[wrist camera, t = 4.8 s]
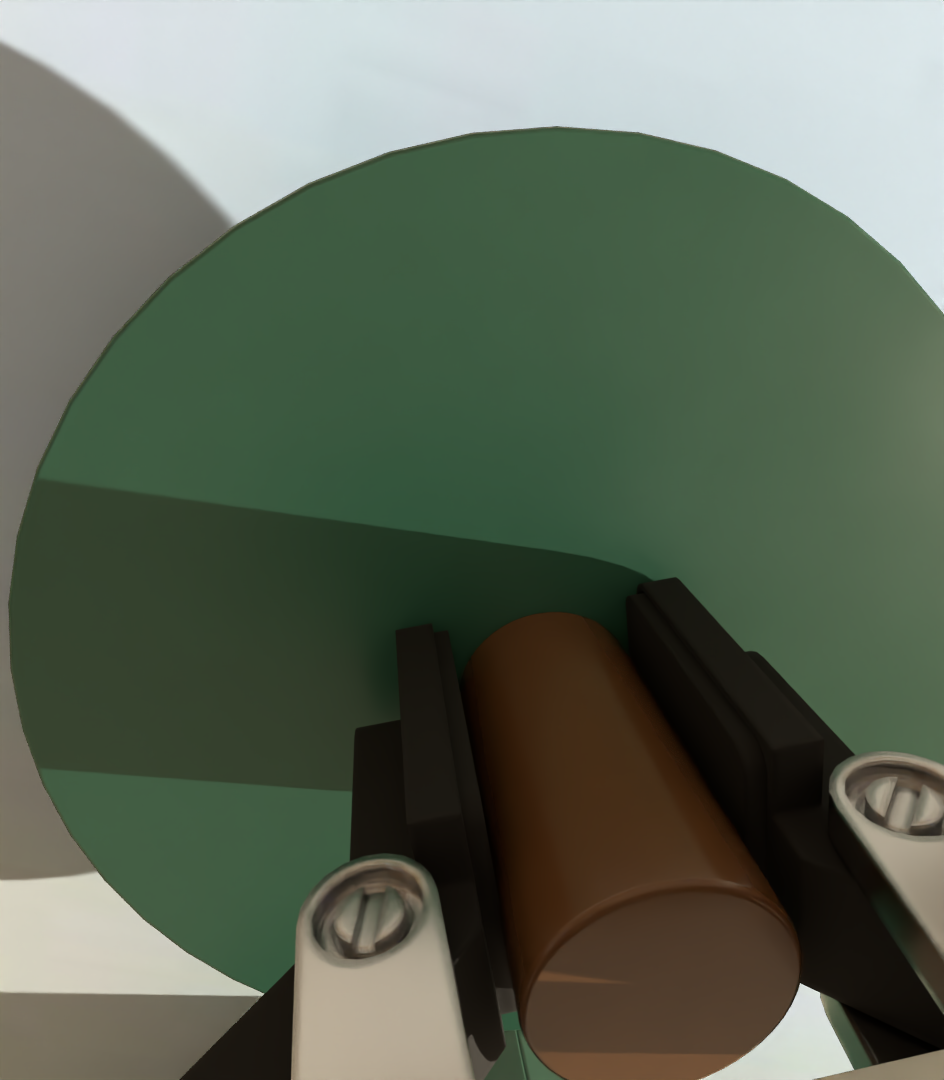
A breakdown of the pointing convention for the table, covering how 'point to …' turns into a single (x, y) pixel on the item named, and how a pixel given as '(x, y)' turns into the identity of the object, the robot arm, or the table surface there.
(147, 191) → the table surface
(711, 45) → the table surface
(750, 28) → the table surface
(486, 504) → the tin lid
